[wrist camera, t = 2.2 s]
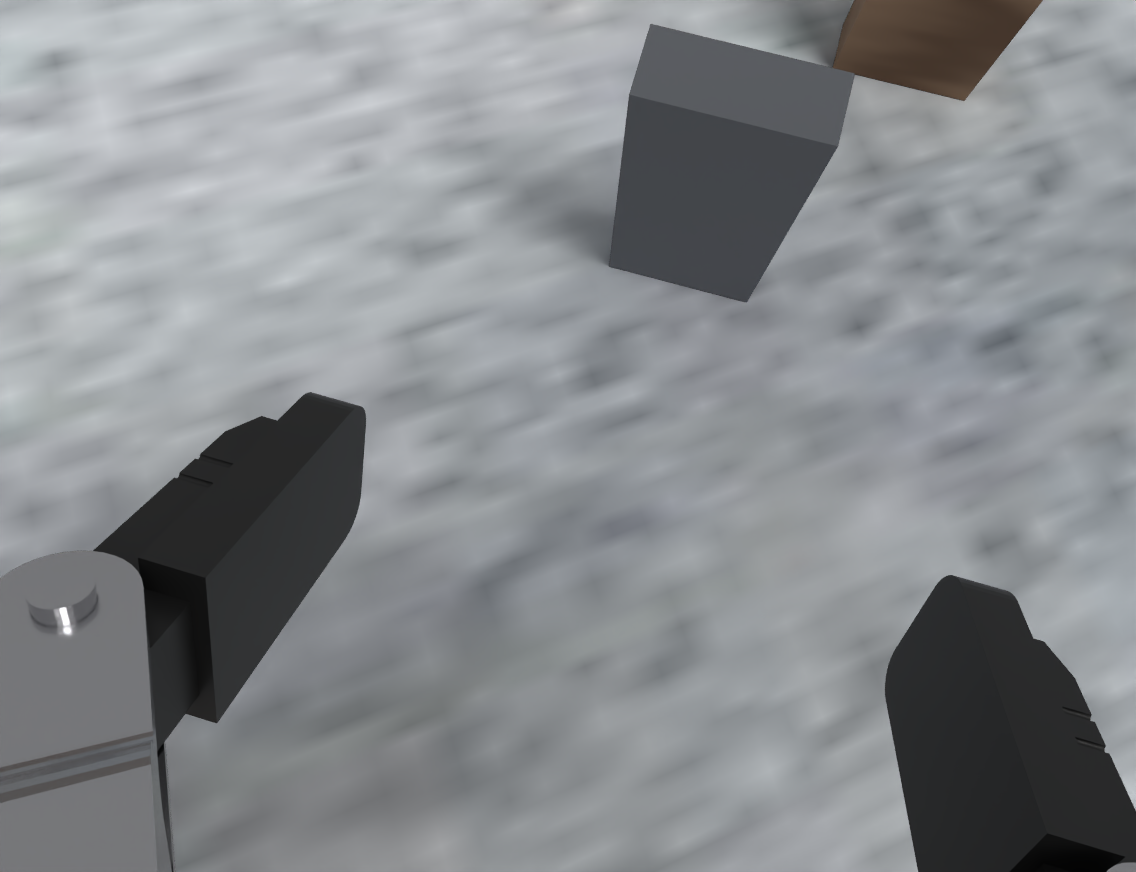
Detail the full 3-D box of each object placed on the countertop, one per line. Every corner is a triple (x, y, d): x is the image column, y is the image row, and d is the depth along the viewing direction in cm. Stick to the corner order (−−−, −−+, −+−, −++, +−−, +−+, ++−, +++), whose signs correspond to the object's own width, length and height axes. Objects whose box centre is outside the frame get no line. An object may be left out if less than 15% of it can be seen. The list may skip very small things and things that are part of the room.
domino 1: (759, 251, 28) (854, 73, 18) (746, 302, 27) (837, 146, 18) (623, 216, 28) (650, 23, 19) (608, 266, 28) (629, 94, 18)
